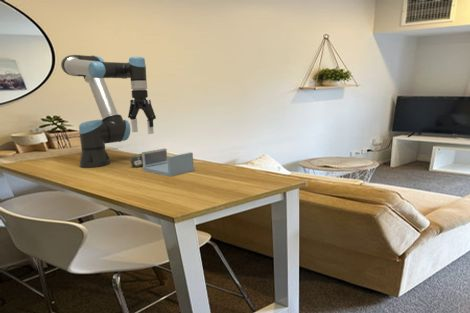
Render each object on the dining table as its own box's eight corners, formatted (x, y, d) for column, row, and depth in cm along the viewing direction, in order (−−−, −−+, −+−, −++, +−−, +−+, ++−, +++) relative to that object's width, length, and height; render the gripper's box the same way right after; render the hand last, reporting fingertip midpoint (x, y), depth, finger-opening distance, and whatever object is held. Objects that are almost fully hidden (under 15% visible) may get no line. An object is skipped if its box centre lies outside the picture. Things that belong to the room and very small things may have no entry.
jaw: (143, 166, 163) (141, 152, 162) (165, 162, 172) (164, 148, 171) (145, 167, 162) (144, 152, 160) (167, 162, 171) (166, 148, 170)
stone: (143, 175, 169) (131, 159, 166) (136, 176, 175) (125, 160, 171) (162, 159, 177) (152, 143, 174) (156, 160, 182) (145, 145, 179)
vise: (142, 170, 163) (140, 152, 162) (166, 165, 173) (165, 148, 171) (169, 176, 148) (168, 157, 147) (194, 170, 158) (193, 152, 157)
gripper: (118, 90, 172) (122, 132, 176) (148, 89, 156) (151, 135, 160) (131, 90, 177) (135, 130, 181) (161, 89, 161) (164, 133, 165)
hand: (142, 132), depth 170 cm, fingers open, 13 cm apart
